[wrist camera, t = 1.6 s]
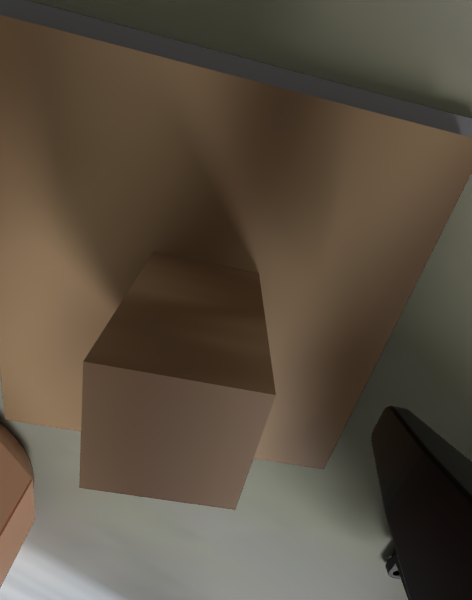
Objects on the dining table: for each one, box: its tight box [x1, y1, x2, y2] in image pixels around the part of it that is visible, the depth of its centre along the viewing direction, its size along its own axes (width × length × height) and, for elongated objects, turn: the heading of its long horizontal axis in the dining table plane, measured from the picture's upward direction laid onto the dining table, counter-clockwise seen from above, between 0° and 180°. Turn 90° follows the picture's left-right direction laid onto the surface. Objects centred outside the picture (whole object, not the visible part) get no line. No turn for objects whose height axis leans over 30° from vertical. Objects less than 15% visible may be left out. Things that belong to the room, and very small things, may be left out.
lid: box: [0, 15, 472, 510], centre depth 9 cm, size 12×12×6 cm
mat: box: [0, 0, 472, 138], centre depth 12 cm, size 13×13×1 cm
